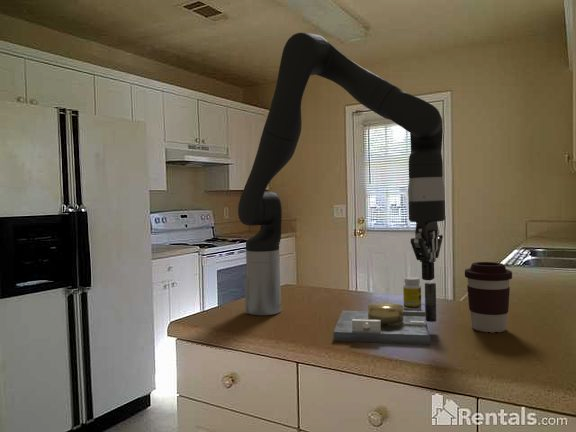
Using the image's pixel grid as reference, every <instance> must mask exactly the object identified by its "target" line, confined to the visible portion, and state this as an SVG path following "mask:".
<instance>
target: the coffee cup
mask: <svg viewBox="0 0 576 432" xmlns="http://www.w3.org/2000/svg"><path fill="white" fill-rule="evenodd" d="M464 277H465V278H467V288H466V289H467V299H468V300H467V301H468V309H469V311H470V312H469V313H470V323H471V327H472V329H474V330H476V331H478V332H483V333H488V332H490V333H491V334H493V333H494V334H495V332H498V333H503V332H505V331H507V324H508V323H507V322H508V321H507V320H508V313H509V308H510V307H509V304H510V291H511V290H510V289H511V287H510V280H512V279H513V271H512V270H510V269H507V268H506V266H505V264H504V263H500V262H494V261H476V262H473V263H471V266H470V267H469V268H466V269H464Z"/></svg>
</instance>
